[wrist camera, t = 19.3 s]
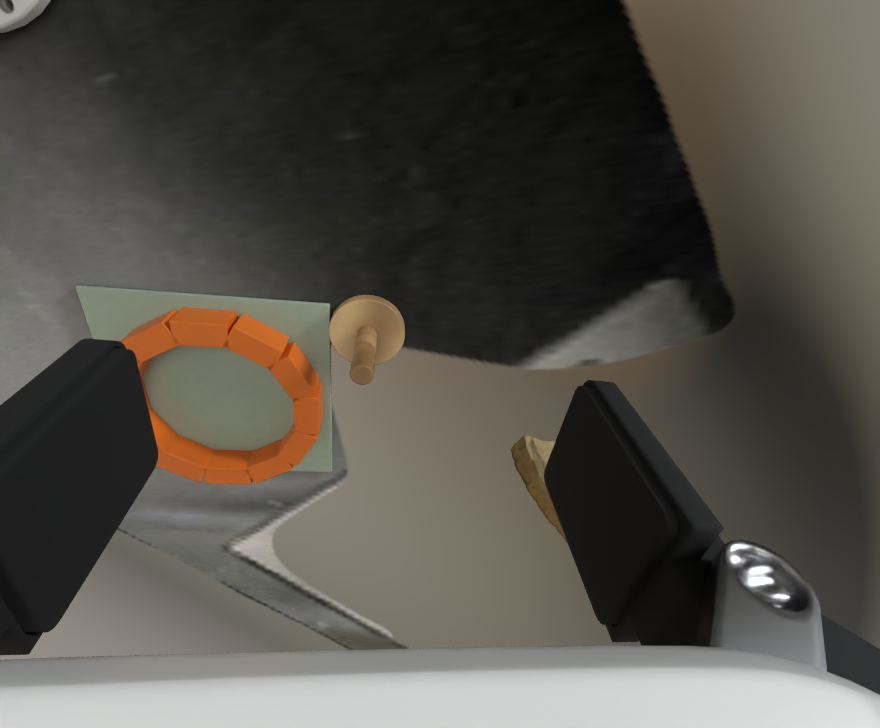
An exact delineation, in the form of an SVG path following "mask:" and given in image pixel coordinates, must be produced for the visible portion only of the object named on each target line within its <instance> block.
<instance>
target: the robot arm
mask: <svg viewBox="0 0 880 728" xmlns="http://www.w3.org/2000/svg"><path fill="white" fill-rule="evenodd" d="M50 1H51V0H0V33H6V32H8V31H11V30H14V29H17V28H20V27H22V26H25V25H26V24H28V23H29V22H31V21H32V20H33V19H35V18H36V17H37V16H39V15H40V14H41V13H42V12H43V10H44V9H45V8H46V6H47V5H48V4H49V2H50ZM12 3H13V6H12ZM157 461H158V447H157V443H156V439H155V435H154V431H153V426H152V422H151V418H150V414H149V410H148V406H147V401H146V397H145V393H144V389H143V385H142V381H141V376H140V372H139V368H138V364H137V360H136V356H135V353H134V352H133V351H132V350H130V349H126V347H125V345H124V344H123V343H122V342H120V341H113V340H101V339H83V340H81V341H79V342H78V343H77V344H76V345H74V346H73V347H72V348H71V349H69V350H68V351H67V352H66V353H64V354H63V355H62V356H61V357H60V358H58V359H57V360H56V361H55V362H53V363H52V364H51V365H50V366H48V367H47V368H46V369H45V370H44V371H42V372H41V373H40V374H39V375H37V376H36V377H35V378H34V379H32V380H31V381H30V382H29V383H28V384H26V385H25V386H24V387H23V388H21V389H20V390H19V391H18V392H16V393H15V394H14V395H13V396H12V397H10V398H9V399H8V400H7V401H5V402H4V403H3V404H2V405H0V655H24V654H29V653H30V652H31V650H32V649H33V647H34V646H35V644H36V642H37V641H38V639H39V638H40V636H41V635H42V633H43V632H49V631H50V630H52V629H53V628H54V627H55V626H56V625H57V624H58V622H59V621H60V619H61V618H62V616H63V615H64V613H65V611H66V610H67V608H68V607H69V605H70V603H71V602H72V600H73V599H74V597H75V595H76V594H77V592H78V591H79V589H80V587H81V586H82V584H83V583H84V581H85V579H86V578H87V576H88V575H89V573H90V571H91V570H92V568H93V566H94V565H95V563H96V562H97V560H98V559H99V557H100V555H101V554H102V552H103V550H104V549H105V547H106V546H107V544H108V543H109V541H110V539H111V538H112V536H113V534H114V533H115V531H116V530H117V528H118V526H119V525H120V523H121V522H122V520H123V518H124V517H125V515H126V514H127V512H128V510H129V509H130V507H131V506H132V504H133V502H134V501H135V499H136V498H137V496H138V494H139V493H140V491H141V490H142V488H143V486H144V485H145V483H146V482H147V480H148V478H149V477H150V475H151V473H152V472H153V470H154V469H155V467H156V464H157ZM544 482H545V485H546V488H547V491H548V493H549V496H550V498H551V501H552V503H553V506H554V509H555V511H556V514H557V516H558V519H559V522H560V524H561V527H562V529H563V532H564V535H565V537H566V540H567V542H568V545H569V547H570V550H571V553H572V555H573V558H574V560H575V563H576V565H577V568H578V571H579V573H580V576H581V579H582V581H583V584H584V586H585V589H586V592H587V594H588V597H589V599H590V602H591V604H592V607H593V610H594V612H595V614H596V617H597V619H598V620H599V621H600V623H601V624H604V625H606V627H607V630H608V632H609V635H610V637H611V640H612V642H638V641H640V643H641V645H642V646H607V645H606V646H605V645H604V646H542V647H480V648H432V649H431V648H430V649H429V648H428V649H380V650H334V651H291V652H246V653H211V654H174V655H173V654H172V655H135V656H98V657H65V658H64V657H60V658H38V659H16V660H0V728H880V649H878V648H877V647H875V646H873V645H871V644H870V643H868V642H867V641H865V640H863V639H862V638H860V637H858V636H857V635H855V634H854V633H852V632H850V631H849V630H847V629H845V628H843V627H842V626H840V625H839V624H837V623H835V622H833V621H832V620H830V619H829V618H827V617H825V616H823V615H822V614H821V612H820V605H819V601H818V599H817V595H816V593H815V591H814V590H813V588H812V587H811V585H810V584H809V582H808V580H807V579H806V578H805V577H804V576H803V575H802V574H801V573H800V572H799V571H798V570H797V568H795V567H794V566H793V565H792V564H790V563H789V562H788V561H787V560H785V559H784V558H783V557H782V556H780V555H778V554H777V553H775V552H773V551H772V550H770V549H768V548H766V547H764V546H761V545H759V544H757V543H754V542H750V541H745V540H734V541H733V540H732V541H730V542H728V543H727V544H724V542H723V541H722V540H721V538H720V537H719V534H720V533H721V531H722V530H723V529H724V528H723V526H722V525H721V524H720V522H719V521H718V520H717V518H716V517H715V516H714V514H713V513H712V512H711V510H710V509H709V508H708V506H707V505H706V504H705V502H704V501H703V500H702V498H701V497H700V496H699V494H698V493H697V492H696V490H695V489H694V488H693V487H692V485H691V484H690V482H689V481H688V480H687V479H686V477H685V476H684V475H683V473H682V472H681V471H680V469H679V468H678V467H677V465H676V464H675V463H674V461H673V460H672V459H671V457H670V456H669V455H668V453H667V452H666V451H665V449H664V448H663V447H662V445H661V444H660V443H659V442H658V440H657V439H656V437H655V436H654V435H653V433H652V432H651V431H650V429H649V428H648V427H647V425H646V424H645V423H644V421H643V420H642V419H641V418H640V416H639V415H638V413H637V412H636V411H635V409H634V408H633V407H632V406H631V404H630V403H629V402H628V400H627V399H626V397H625V396H624V395H623V394H622V392H621V391H620V390H619V388H618V387H617V386H616V385H615V384H614V383H612V382H603V381H592V380H589V381H586V382H585V383H584V385H583V386H579V387H578V388H577V389H576V391H575V393H574V395H573V398H572V401H571V403H570V406H569V408H568V411H567V413H566V416H565V419H564V421H563V424H562V426H561V429H560V432H559V434H558V437H557V439H556V442H555V444H554V447H553V449H552V452H551V454H550V457H549V460H548V462H547V465H546V467H545V471H544Z"/></svg>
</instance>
